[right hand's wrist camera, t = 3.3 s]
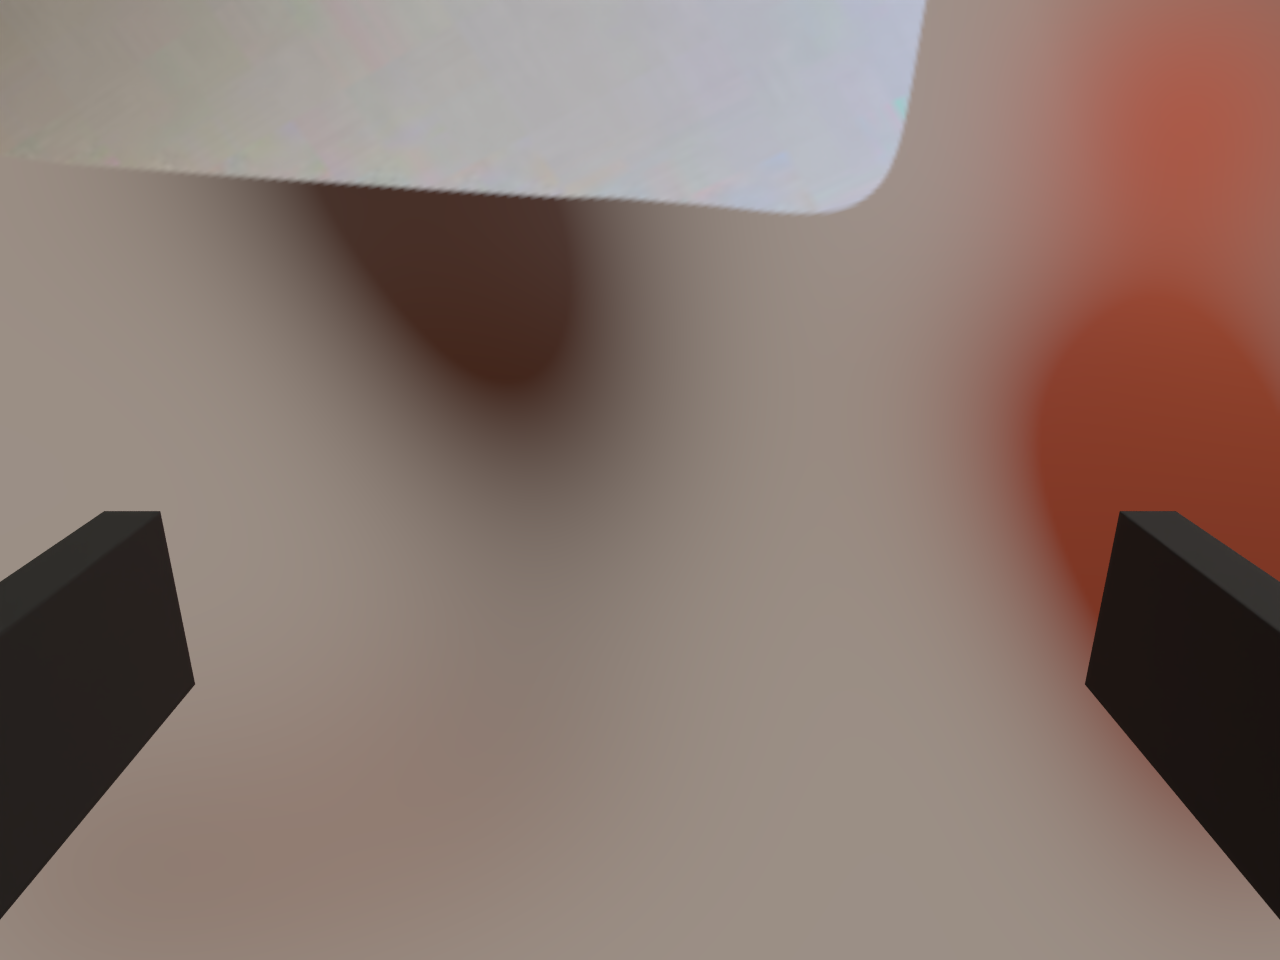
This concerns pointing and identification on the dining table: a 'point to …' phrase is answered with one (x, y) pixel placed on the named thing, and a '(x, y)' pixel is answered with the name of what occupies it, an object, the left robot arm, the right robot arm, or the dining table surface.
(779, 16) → the dining table surface
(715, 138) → the dining table surface
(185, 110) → the dining table surface
